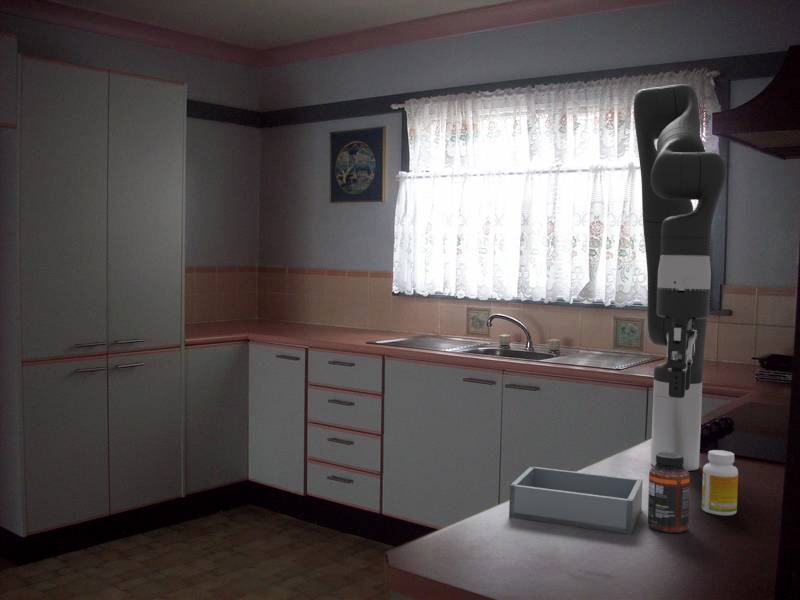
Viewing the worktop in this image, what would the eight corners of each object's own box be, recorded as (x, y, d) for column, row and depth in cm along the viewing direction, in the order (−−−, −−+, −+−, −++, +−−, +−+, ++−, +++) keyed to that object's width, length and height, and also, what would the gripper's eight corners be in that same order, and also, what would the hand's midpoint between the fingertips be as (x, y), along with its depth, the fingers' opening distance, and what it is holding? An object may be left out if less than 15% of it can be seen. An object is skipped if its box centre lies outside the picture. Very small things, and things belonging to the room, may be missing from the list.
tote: (529, 495, 141) (530, 466, 141) (641, 509, 134) (642, 479, 134) (509, 516, 129) (510, 485, 128) (631, 534, 122) (632, 501, 121)
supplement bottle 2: (744, 514, 133) (746, 455, 133) (718, 517, 131) (720, 457, 131) (719, 505, 138) (722, 447, 138) (694, 507, 136) (696, 449, 136)
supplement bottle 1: (687, 524, 127) (689, 451, 127) (689, 536, 121) (692, 460, 121) (646, 520, 129) (649, 448, 128) (647, 531, 123) (650, 457, 123)
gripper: (662, 284, 131) (659, 385, 132) (651, 285, 118) (647, 397, 119) (713, 286, 128) (708, 389, 129) (707, 287, 115) (702, 402, 116)
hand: (679, 393), depth 124 cm, fingers open, 8 cm apart
